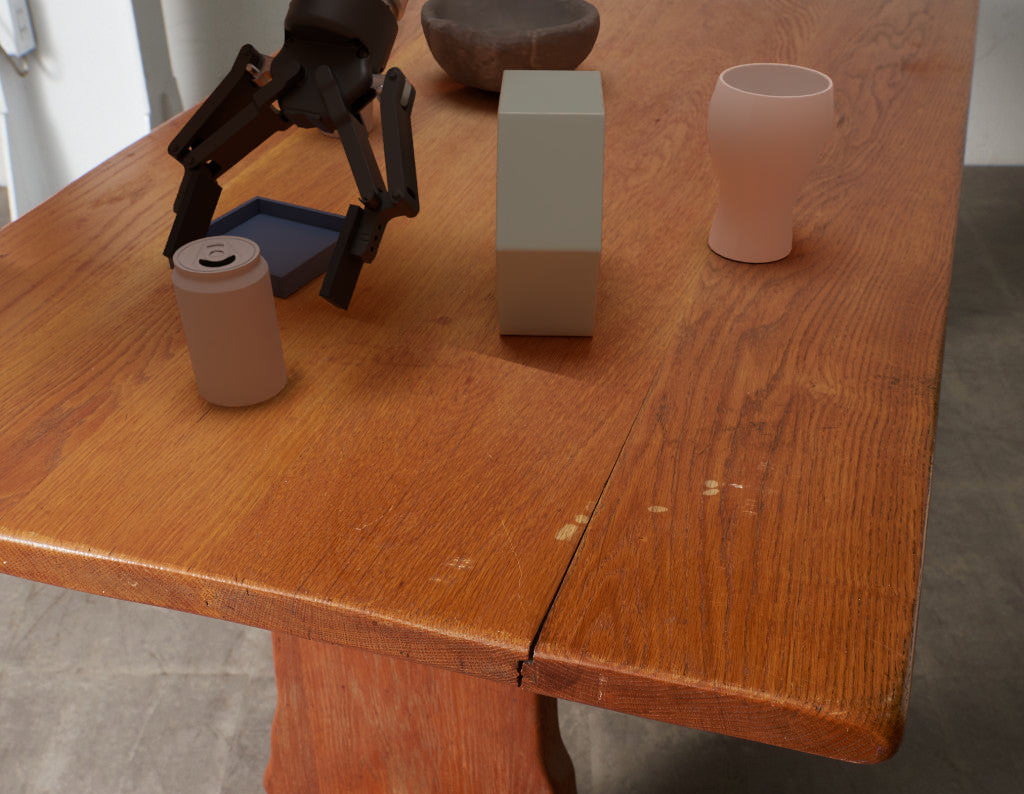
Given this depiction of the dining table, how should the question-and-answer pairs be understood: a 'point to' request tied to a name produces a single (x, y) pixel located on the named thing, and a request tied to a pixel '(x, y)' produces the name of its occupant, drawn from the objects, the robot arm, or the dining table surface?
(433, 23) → the bowl
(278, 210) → the tray
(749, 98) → the cup
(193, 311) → the beverage can
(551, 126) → the grey beige box
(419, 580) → the dining table surface
